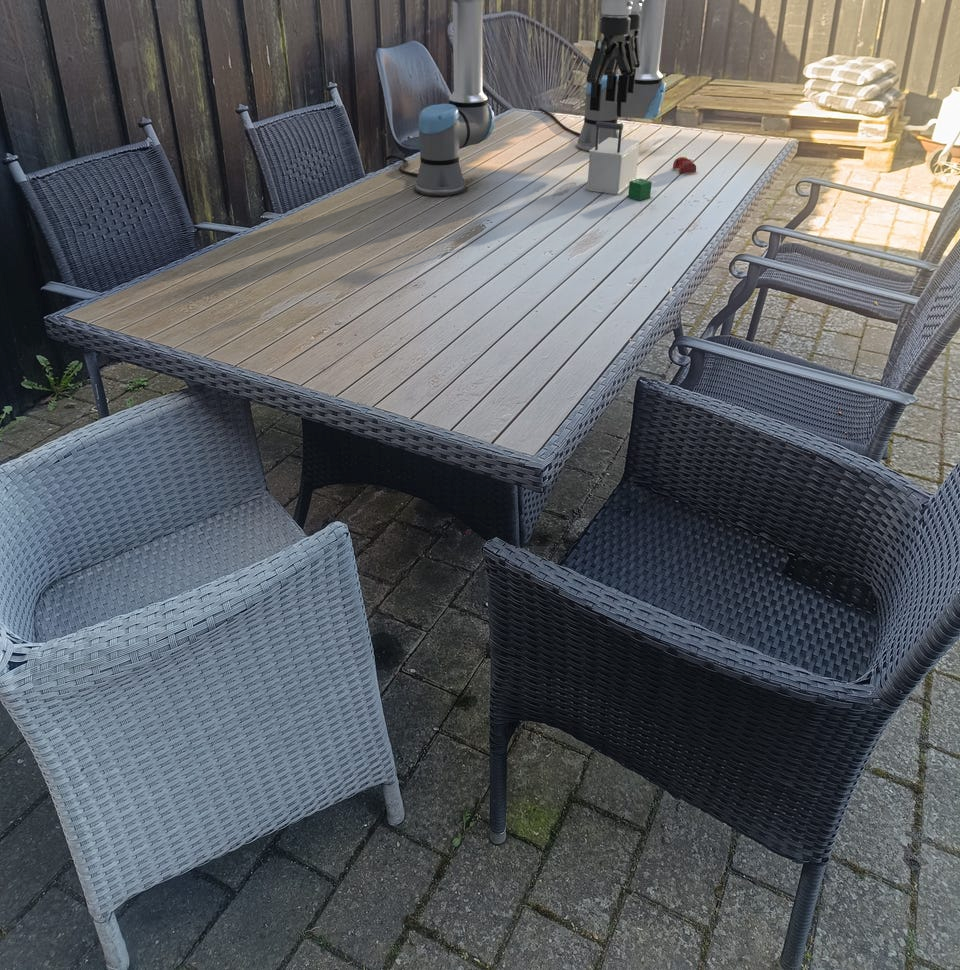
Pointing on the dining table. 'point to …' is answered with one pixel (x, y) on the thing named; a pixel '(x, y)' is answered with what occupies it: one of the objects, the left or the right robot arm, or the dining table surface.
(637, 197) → the block
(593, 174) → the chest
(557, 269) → the dining table surface
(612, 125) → the lid
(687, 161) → the dark red rounded lump
